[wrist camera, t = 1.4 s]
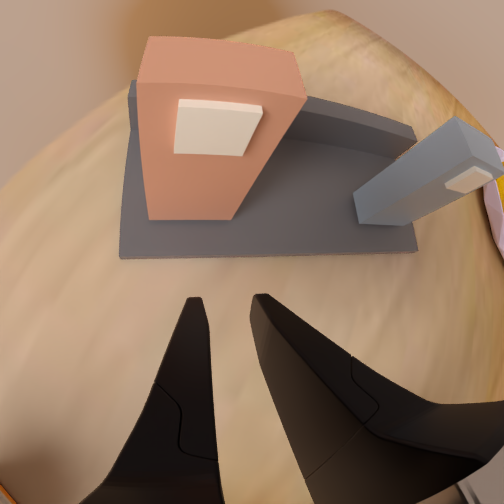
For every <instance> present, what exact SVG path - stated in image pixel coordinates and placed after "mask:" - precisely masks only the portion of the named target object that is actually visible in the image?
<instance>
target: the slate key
mask: <svg viewBox="0 0 504 504" xmlns="http://www.w3.org/2000/svg"><path fill="white" fill-rule="evenodd" d="M502 175H504V167H503V164H502V162H501V159H500V157H499V155H498V152H497V150H496V148H495V145H494V143H493V141H492V139H491V138H489V137H488V136H486V135H485V134H483V133H482V132H480V131H479V130H477V129H476V128H474V127H472V126H471V125H469V124H468V123H466V122H464V121H463V120H461V119H459V118H458V117H456V116H454V117H453V118H451V119H450V120H449V121H447V122H446V123H445V124H443V125H442V126H441V127H440V128H438V129H437V130H436V131H434V132H433V133H432V134H430V135H429V136H428V137H426V138H425V139H424V140H423V141H421V142H420V143H419V144H417V145H416V146H415V147H413V148H412V149H411V150H409V151H408V152H407V153H405V154H404V155H403V156H401V157H400V158H399V159H398V160H396V161H395V162H394V163H392V164H391V165H390V166H388V167H387V168H386V169H384V170H383V171H382V172H380V173H379V174H378V175H376V176H375V177H374V178H372V179H371V180H370V181H368V182H367V183H366V184H364V185H363V186H362V187H360V188H359V189H358V190H356V191H355V192H354V193H353V197H354V202H355V206H356V211H357V216H358V221H359V224H376V225H395V226H405V225H407V224H409V223H411V222H413V221H415V220H417V219H419V218H421V217H423V216H425V215H427V214H429V213H431V212H433V211H435V210H437V209H439V208H441V207H443V206H445V205H447V204H449V203H451V202H453V201H455V200H457V199H459V198H461V197H463V196H465V195H467V194H469V193H471V192H472V191H474V190H476V189H478V188H480V187H482V186H484V185H486V184H488V183H489V182H491V181H493V180H495V179H497V178H499V177H501V176H502Z"/></svg>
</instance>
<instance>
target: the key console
mask: <svg viewBox="0 0 504 504" xmlns="http://www.w3.org/2000/svg"><path fill="white" fill-rule="evenodd" d="M136 82H137V80H132V82H131V85H130V89H129V94H128V107H129V118H130V128H131V132H130V138H129V144H128V151H127V159H126V166H125V175H124V184H123V195H122V207H121V222H120V243H119V257H120V259H164V258H217V257H265V256H309V255H350V254H388V253H414V252H417V251H418V247H417V242H416V237H415V232H414V228H413V223H412V222H411V223H409V224H407V225H405V226H395V225H376V224H359V221H358V216H357V211H356V206H355V202H354V197H353V193H354V192H355V191H356V190H358V189H359V188H360V187H362V186H363V185H364V184H366V183H367V182H368V181H370V180H371V179H372V178H374V177H375V176H376V175H378V174H379V173H380V172H382V171H383V170H384V169H386V168H387V167H388V166H390V165H391V164H392V163H394V162H395V159H396V158H397V157H398V156H399V155H401V154H402V153H403V152H405V151H406V150H407V149H409V148H410V147H411V146H412V145H414V144H415V143H416V142H418V141H417V139H416V136H415V134H414V131H413V129H412V127H411V126H408V125H406V124H403V123H400V122H397V121H394V120H392V119H389V118H386V117H383V116H380V115H377V114H373V113H370V112H367V111H364V110H360V109H357V108H354V107H350V106H346V105H343V104H339V103H335V102H331V101H327V100H323V99H319V98H314V97H310V96H307V100H306V102H305V103H304V105H303V106H302V108H301V109H300V111H299V113H298V114H297V116H296V117H295V119H294V120H293V122H292V123H291V125H290V126H289V128H288V129H287V131H286V132H285V134H284V136H283V137H282V139H281V140H280V142H279V143H278V145H277V147H276V148H275V150H274V151H273V153H272V154H271V156H270V158H269V159H268V161H267V162H266V164H265V165H264V167H263V169H262V170H261V172H260V173H259V175H258V177H257V178H256V180H255V181H254V183H253V185H252V186H251V188H250V190H249V191H248V193H247V194H246V196H245V198H244V199H243V201H242V203H241V204H240V206H239V208H238V209H237V211H236V213H235V214H234V216H233V217H232V219H231V220H149V217H148V210H147V203H146V196H145V188H144V180H143V171H142V162H141V152H140V140H139V127H138V111H137V89H136Z"/></svg>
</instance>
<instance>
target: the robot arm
mask: <svg viewBox="0 0 504 504" xmlns="http://www.w3.org/2000/svg"><path fill="white" fill-rule="evenodd" d="M250 323H251V328H252V333H253V337H254V342H255V346H256V351H257V355H258V359H259V363H260V366H261V369H262V372H263V375H264V378H265V380H266V383H267V386H268V388H269V391H270V394H271V396H272V399H273V402H274V404H275V407H276V409H277V412H278V415H279V417H280V420H281V422H282V425H283V428H284V430H285V433H286V435H287V438H288V440H289V443H290V445H291V448H292V450H293V453H294V455H295V458H296V460H297V463H298V465H299V468H300V470H301V473H302V475H303V477H304V479H305V483H306V485H307V487H308V490H309V492H310V495H311V497H312V499H313V502H314V504H504V400H503V401H496V402H484V403H467V404H438V403H433V402H430V401H427V400H425V399H423V398H421V397H419V396H417V395H415V394H414V393H412V392H410V391H408V390H406V389H405V388H403V387H401V386H399V385H397V384H396V383H394V382H392V381H390V380H389V379H387V378H385V377H384V376H382V375H380V374H379V373H377V372H375V371H374V370H372V369H371V368H369V367H368V366H366V365H365V364H364V363H362V362H361V361H359V360H358V359H356V358H355V357H354V356H352V357H351V354H349V353H348V352H347V351H345V350H344V349H342V348H341V347H340V346H338V345H337V344H335V343H334V342H333V341H331V340H330V339H328V338H327V337H326V336H324V335H323V334H322V333H320V332H319V331H318V330H316V329H315V328H313V327H312V326H311V325H309V324H308V323H307V322H305V321H304V320H303V319H301V318H300V317H298V316H297V315H296V314H294V313H293V312H292V311H290V310H289V309H288V308H286V307H285V306H284V305H282V304H281V303H280V302H278V301H277V300H276V299H274V298H273V297H272V296H270V295H269V294H266V293H264V294H255V295H254V296H253V299H252V305H251V311H250ZM79 504H225V501H224V496H223V491H222V485H221V479H220V471H219V463H218V451H217V440H216V429H215V416H214V402H213V387H212V370H211V351H210V330H209V323H208V319H207V316H206V312H205V308H204V304H203V300H202V298H201V297H189V298H187V300H186V302H185V305H184V307H183V310H182V312H181V314H180V317H179V319H178V322H177V324H176V327H175V329H174V332H173V334H172V337H171V339H170V342H169V344H168V347H167V349H166V352H165V354H164V357H163V360H162V362H161V365H160V367H159V370H158V373H157V375H156V378H155V380H154V383H153V385H152V388H151V391H150V393H149V396H148V398H147V401H146V403H145V406H144V408H143V410H142V412H141V414H140V416H139V418H138V420H137V422H136V424H135V426H134V428H133V430H132V432H131V434H130V436H129V437H128V439H127V441H126V443H125V445H124V447H123V449H122V450H121V452H120V454H119V456H118V458H117V460H116V462H115V463H114V465H113V467H112V469H111V470H110V472H109V473H108V475H107V476H106V478H105V479H104V480H103V482H102V483H101V484H100V485H99V486H98V487H97V488H96V489H95V490H94V491H93V492H91V493H90V494H89V495H88V496H87V497H86V498H85V499H83V500H82V501H81V502H80V503H79Z"/></svg>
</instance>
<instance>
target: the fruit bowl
mask: <svg viewBox="0 0 504 504" xmlns="http://www.w3.org/2000/svg"><path fill="white" fill-rule="evenodd" d="M495 148H496V150H497V152H498V155H499V157H500V159H501V162H502V164H503V167H504V151H503V150H502V149H500V148H498V147H496V146H495ZM483 188H484V202H485V206H486V210H487V214H488V218H489V222H490V226H491V231H492V235H493V240H494V241H495V243H496V245H497V247H498V249H499V251H500V253H501V255H502V257H503V259H504V175H502V176H501V177H499V178H497V179H495V180H493V181H491V182H489V183H488V184H486V185H484V186H483Z"/></svg>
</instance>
